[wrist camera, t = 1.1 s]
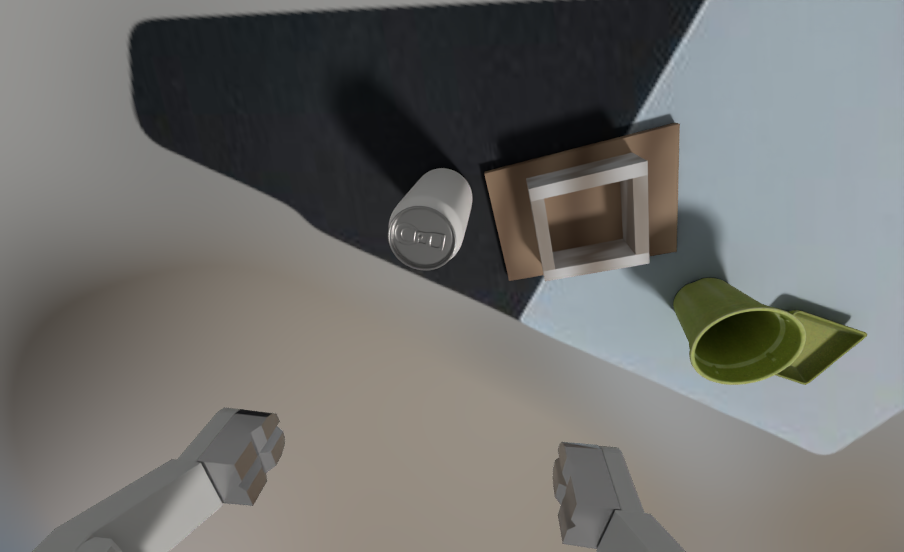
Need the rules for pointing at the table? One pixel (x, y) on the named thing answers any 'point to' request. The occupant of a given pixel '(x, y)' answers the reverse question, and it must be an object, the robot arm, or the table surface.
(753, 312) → the plant pot
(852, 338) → the saucer
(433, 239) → the can
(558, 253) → the socket board
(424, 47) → the table surface
